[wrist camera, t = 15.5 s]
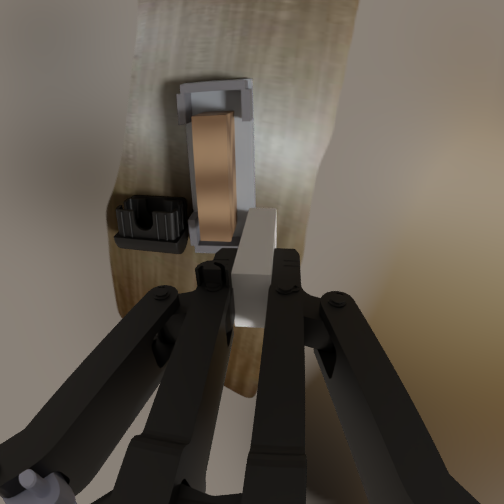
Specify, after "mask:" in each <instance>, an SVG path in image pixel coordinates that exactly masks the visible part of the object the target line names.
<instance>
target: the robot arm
mask: <svg viewBox="0 0 504 504" xmlns="http://www.w3.org/2000/svg"><path fill="white" fill-rule="evenodd" d="M276 217H277V208H249V212H248V215H247V219H246V222H245V226H244V229H243V233H242V236H241V240H240V243H239V247H238V248H221V249H220V250H219V251H218V252H216V254H215V257H214V260H213V261H206V262H203V263H201V264H199V265H198V266H197V267H196V268H195V272H196V279H197V288H196V290H194V291H192V292H187V293H181V294H178V291H177V289H176V288H175V287H172V286H168V285H162V286H157V287H155V288H153V289H151V290H150V291H149V292H148V293H147V294H146V295H145V296H144V297H143V298H142V299H141V300H140V301H139V302H138V303H137V304H136V305H135V306H134V307H133V308H132V309H131V310H130V311H129V312H128V314H127V315H126V316H125V317H124V318H123V319H122V320H121V321H120V322H119V323H118V324H117V325H116V326H115V327H114V328H113V329H112V331H111V332H110V333H109V334H108V335H107V336H106V337H105V338H104V339H103V340H102V341H101V342H100V343H99V345H98V346H97V347H96V348H95V349H94V350H93V351H92V352H91V353H90V355H88V357H87V358H86V359H85V360H84V361H83V362H82V363H81V365H79V367H78V368H77V369H76V370H75V371H74V372H73V373H72V374H71V376H70V377H69V378H68V379H67V380H66V381H65V383H63V385H62V386H61V387H60V388H59V389H58V391H56V393H55V394H54V395H53V396H52V397H51V398H50V400H49V401H48V402H47V403H46V404H45V405H44V406H43V408H42V409H41V410H40V411H39V412H38V414H37V415H36V416H35V417H34V418H33V419H32V421H31V422H30V423H29V424H28V426H27V427H26V428H25V429H24V430H22V431H21V432H19V433H18V434H16V435H14V436H13V437H11V438H10V439H8V440H6V441H5V442H3V443H2V444H0V496H1V497H2V498H3V499H4V501H5V503H6V504H77V503H76V501H75V496H76V495H77V494H78V493H80V492H81V491H82V490H83V489H84V488H85V487H86V486H87V485H88V484H89V483H90V482H91V481H92V479H93V478H94V477H95V475H96V474H97V473H98V471H99V470H100V468H101V467H102V466H103V464H104V463H105V461H106V460H107V458H108V457H109V456H110V454H111V453H112V451H113V450H114V448H115V447H116V445H117V444H118V443H119V441H120V440H121V438H122V437H123V435H124V434H125V433H126V431H127V429H128V428H129V427H130V425H131V424H132V422H133V421H134V420H135V418H136V417H137V415H138V414H139V412H140V411H141V410H142V408H143V407H144V405H145V404H146V402H147V401H148V399H149V398H150V396H151V395H152V394H153V392H154V391H155V389H156V388H157V387H158V385H159V384H160V386H159V388H158V391H157V394H156V397H155V399H154V402H153V405H152V408H151V411H150V413H149V417H148V419H147V422H146V425H145V428H144V430H143V432H142V433H141V435H136V436H134V437H133V438H132V439H131V441H130V443H129V446H128V448H127V451H126V454H125V457H124V459H123V463H122V465H121V468H120V471H119V474H118V477H117V480H116V483H115V486H114V489H113V490H112V491H110V492H109V493H107V494H105V495H104V496H102V497H101V498H99V499H98V500H96V501H94V502H93V503H91V504H306V477H307V475H306V474H307V459H306V454H305V355H304V354H305V353H304V346H308V347H312V348H314V353H315V356H316V358H317V361H318V364H319V366H320V369H321V371H322V374H323V377H324V380H325V382H326V385H327V388H328V390H329V393H330V396H331V398H332V401H333V403H334V406H335V409H336V412H337V415H338V417H339V420H340V423H341V425H342V428H343V431H344V434H345V436H346V439H347V442H348V445H349V447H350V450H351V453H352V456H353V459H354V461H355V464H356V467H357V470H358V473H359V475H360V478H361V481H362V484H363V487H364V489H365V493H366V495H367V498H368V501H369V504H480V503H479V502H478V501H477V500H476V499H475V498H474V497H473V496H472V495H471V494H470V493H469V492H467V491H466V490H465V489H464V488H463V487H462V486H461V485H460V484H459V483H458V482H457V481H456V480H455V479H454V478H453V477H452V476H451V475H450V474H449V473H448V471H447V468H446V467H445V464H444V462H443V460H442V458H441V456H440V454H439V452H438V450H437V448H436V446H435V444H434V442H433V440H432V438H431V436H430V434H429V432H428V430H427V428H426V427H425V424H424V422H423V421H422V419H421V417H420V415H419V413H418V411H417V409H416V407H415V405H414V403H413V402H412V400H411V398H410V396H409V394H408V392H407V390H406V389H405V387H404V385H403V383H402V382H401V380H400V378H399V376H398V375H397V372H396V371H395V369H394V367H393V365H392V364H391V362H390V360H389V358H388V357H387V355H386V353H385V351H384V350H383V348H382V346H381V345H380V343H379V341H378V339H377V338H376V336H375V334H374V333H373V331H372V329H371V327H370V326H369V324H368V323H367V321H366V319H365V317H364V316H363V314H362V312H361V311H360V309H359V308H358V306H357V304H356V303H355V301H354V299H353V298H352V297H351V296H350V295H348V294H346V293H344V292H339V291H331V292H327V293H325V294H324V295H323V296H322V297H321V298H318V297H314V296H311V295H309V294H307V293H306V292H305V291H304V290H303V289H302V287H301V276H300V256H299V253H298V252H297V251H296V250H295V249H280V248H276ZM234 319H235V326H240V327H259V328H264V338H263V347H262V356H261V365H260V373H259V382H258V391H257V399H256V408H255V416H254V424H253V432H252V440H251V448H250V451H249V454H248V458H247V464H246V471H245V479H244V486H243V493H239V494H230V495H220V496H211V495H208V494H206V493H205V491H206V480H205V478H206V470H207V465H208V460H209V455H210V450H211V445H212V440H213V435H214V430H215V425H216V420H217V415H218V410H219V405H220V400H221V395H222V390H223V385H224V381H225V376H226V371H227V366H228V361H229V356H230V351H231V346H232V341H233V336H234V332H233V324H234ZM160 382H161V383H160Z"/></svg>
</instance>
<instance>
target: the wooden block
mask: <svg viewBox="0 0 504 504" xmlns="http://www.w3.org/2000/svg"><path fill="white" fill-rule="evenodd" d="M191 119H192V137H193V153H194V168H195V181H196V194H197V206H198V218H199V228H200V239H201V241H224V242H231V240H232V237H233V234H234V231H235V228H236V225H237V194H236V161H235V122H234V111H211V112H202V113H200V114H197V115H194V116H192V117H191Z"/></svg>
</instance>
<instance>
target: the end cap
mask: <svg viewBox="0 0 504 504" xmlns="http://www.w3.org/2000/svg"><path fill="white" fill-rule="evenodd" d="M116 214H117V222H118V229H119V232H118V233H117V234H116V235H115V236H114V239H115V242H116V244H117V246H118V247H120V248H124V249H134V250H143V251H153V252H163V253H172V254H182V253H183V252H184V250H185V248H186V245H187V241H188V233H189V225H188V224H187V205H186V199H185V198H183V197H165V196H144V195H134V196H132V197H131V198H128V199H126V200H125V201H124V209H123V208H122V205H119V206H118V207H117V208H116Z"/></svg>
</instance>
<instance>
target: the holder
mask: <svg viewBox="0 0 504 504" xmlns="http://www.w3.org/2000/svg"><path fill="white" fill-rule="evenodd" d="M176 95H177V110H178V124H179V125H182V124H186V135H187V147H188V159H189V171H190V181H191V192H192V202H193V211H194V212H193V213H192V214H191V216H190V217H189V219H188V225H189V233H190V241H191V245H194V246H195V253H216V252H218V251H219V250H220V249H221V248H238V247H239V243H240V240H241V236H242V233H243V229H244V226H245V222H246V219H247V215H248V212H249V208H256V203H255V159H254V118H253V79H232V80H215V81H202V82H191V83H183V84H181V85H180V94H176ZM211 111H234V122H235V161H236V194H237V225H236V228H235V231H234V234H233V237H232V240H231V242H224V241H201V239H200V228H199V218H198V206H197V194H196V181H195V168H194V153H193V137H192V119H191V117H192V116H194V115H197V114H200V113H202V112H211Z"/></svg>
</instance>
